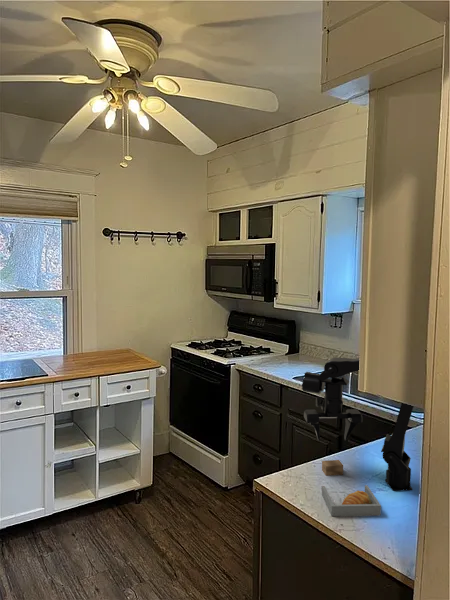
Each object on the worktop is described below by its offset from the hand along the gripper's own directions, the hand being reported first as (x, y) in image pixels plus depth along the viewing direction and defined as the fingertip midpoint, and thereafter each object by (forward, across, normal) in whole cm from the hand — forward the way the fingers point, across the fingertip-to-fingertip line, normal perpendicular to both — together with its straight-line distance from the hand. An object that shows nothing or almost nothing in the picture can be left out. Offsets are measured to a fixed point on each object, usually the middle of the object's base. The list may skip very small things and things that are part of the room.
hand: (332, 440), depth 156 cm
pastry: (+11, -2, +22) cm, 25 cm away
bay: (+11, 0, +21) cm, 24 cm away
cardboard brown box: (+11, 0, +1) cm, 11 cm away
